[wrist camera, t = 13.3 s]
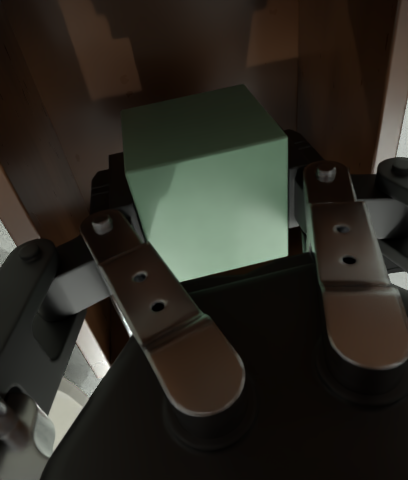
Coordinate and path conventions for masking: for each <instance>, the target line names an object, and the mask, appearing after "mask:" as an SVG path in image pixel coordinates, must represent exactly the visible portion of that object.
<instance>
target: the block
mask: <svg viewBox="0 0 408 480" xmlns="http://www.w3.org/2000/svg"><path fill="white" fill-rule="evenodd" d="M121 127H122V140H123V154H124V168H125V176H126V179H127V182H128V185H129V188H130V192H131V195H132V198H133V201H134V204H135V207H136V211H137V214H138V217H139V220H140V223H141V226H142V229H143V233H144V236H145V239H146V241H149V242H150V243H151V244H152V246H153V247H154V248H155V250H156V251H157V252H158V254H159V255H160V256H161V258H162V259H163V260H164V262H165V263H166V264H167V266H168V267H169V268H170V270H171V271H172V273H173V274H174V275H175V277H176V278H177V279H178V281H179V282H182V281H186V280H190V279H195V278H199V277H203V276H207V275H211V274H215V273H219V272H223V271H228V270H232V269H236V268H240V267H244V266H248V265H252V264H257V263H261V262H265V261H269V260H273V259H277V258H281V257H286V256H288V137H287V135H286V134H285V133H284V131H283V130H282V129H281V128H280V127H279V125H278V124H277V123H276V122H275V121H274V119H273V118H272V117H271V116H270V115H269V113H268V112H267V111H266V110H265V109H264V107H263V106H262V105H261V104H260V103H259V102H258V100H257V99H256V98H255V97H254V96H253V94H252V93H251V92H250V91H249V90H248V88H247V87H246V86H245V85H244V84H240V85H236V86H231V87H227V88H222V89H217V90H213V91H208V92H203V93H199V94H194V95H189V96H185V97H180V98H175V99H171V100H166V101H162V102H157V103H152V104H148V105H143V106H138V107H134V108H129V109H124V110H122V111H121Z"/></svg>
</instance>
